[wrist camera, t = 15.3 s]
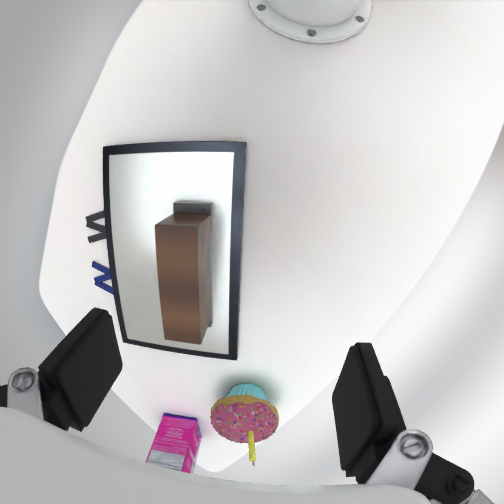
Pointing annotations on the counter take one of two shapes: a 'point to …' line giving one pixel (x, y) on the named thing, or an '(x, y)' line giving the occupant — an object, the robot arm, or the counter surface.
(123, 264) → the whiteboard
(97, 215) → the scribble
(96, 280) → the scribble
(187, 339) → the eraser
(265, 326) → the counter surface
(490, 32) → the counter surface
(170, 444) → the supplement box
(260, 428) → the cupcake
